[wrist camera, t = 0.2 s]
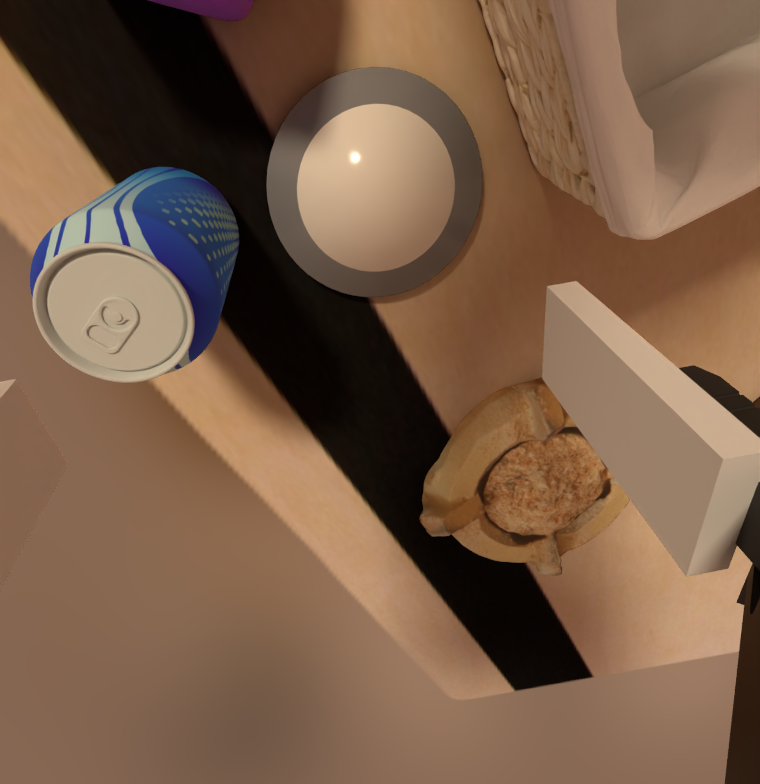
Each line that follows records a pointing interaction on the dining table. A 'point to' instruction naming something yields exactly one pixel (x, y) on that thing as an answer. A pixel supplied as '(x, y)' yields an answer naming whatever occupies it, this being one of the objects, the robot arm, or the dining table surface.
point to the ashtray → (520, 481)
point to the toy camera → (213, 7)
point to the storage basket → (636, 102)
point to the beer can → (137, 276)
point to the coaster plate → (374, 181)
